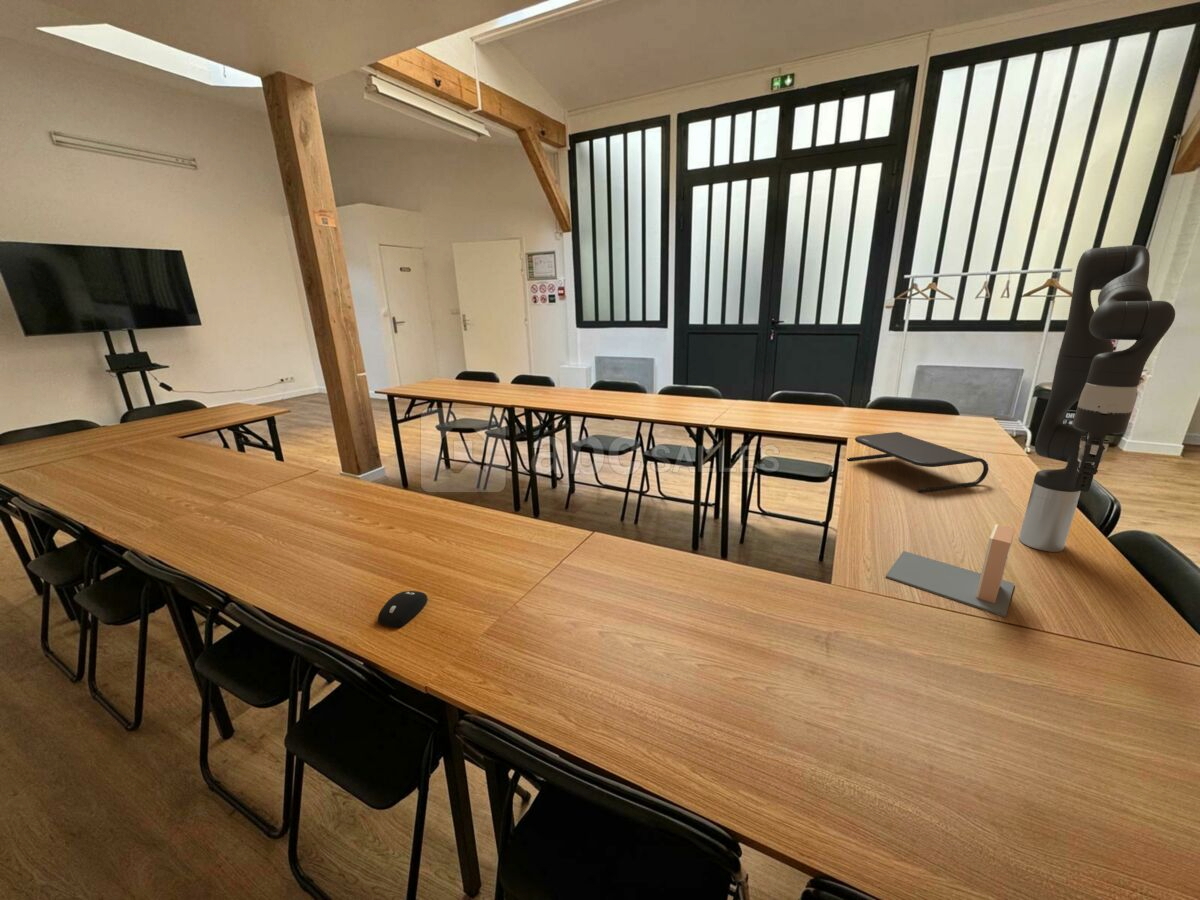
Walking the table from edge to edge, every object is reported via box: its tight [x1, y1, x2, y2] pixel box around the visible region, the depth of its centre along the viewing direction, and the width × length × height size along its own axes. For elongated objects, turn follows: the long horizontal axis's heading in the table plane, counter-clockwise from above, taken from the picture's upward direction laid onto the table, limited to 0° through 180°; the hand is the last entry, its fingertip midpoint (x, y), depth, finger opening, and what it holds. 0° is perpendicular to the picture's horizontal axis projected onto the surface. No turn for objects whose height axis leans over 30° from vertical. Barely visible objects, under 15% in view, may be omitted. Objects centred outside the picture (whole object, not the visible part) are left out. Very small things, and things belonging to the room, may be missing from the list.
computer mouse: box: [377, 590, 428, 629], centre depth 110 cm, size 8×12×4 cm, turn 161°
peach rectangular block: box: [975, 523, 1016, 603], centre depth 107 cm, size 9×4×15 cm, turn 135°
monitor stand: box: [846, 431, 989, 494], centre depth 183 cm, size 37×28×11 cm
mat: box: [885, 550, 1015, 618], centre depth 115 cm, size 16×23×1 cm
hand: (1081, 485), depth 99 cm, fingers open, 6 cm apart
